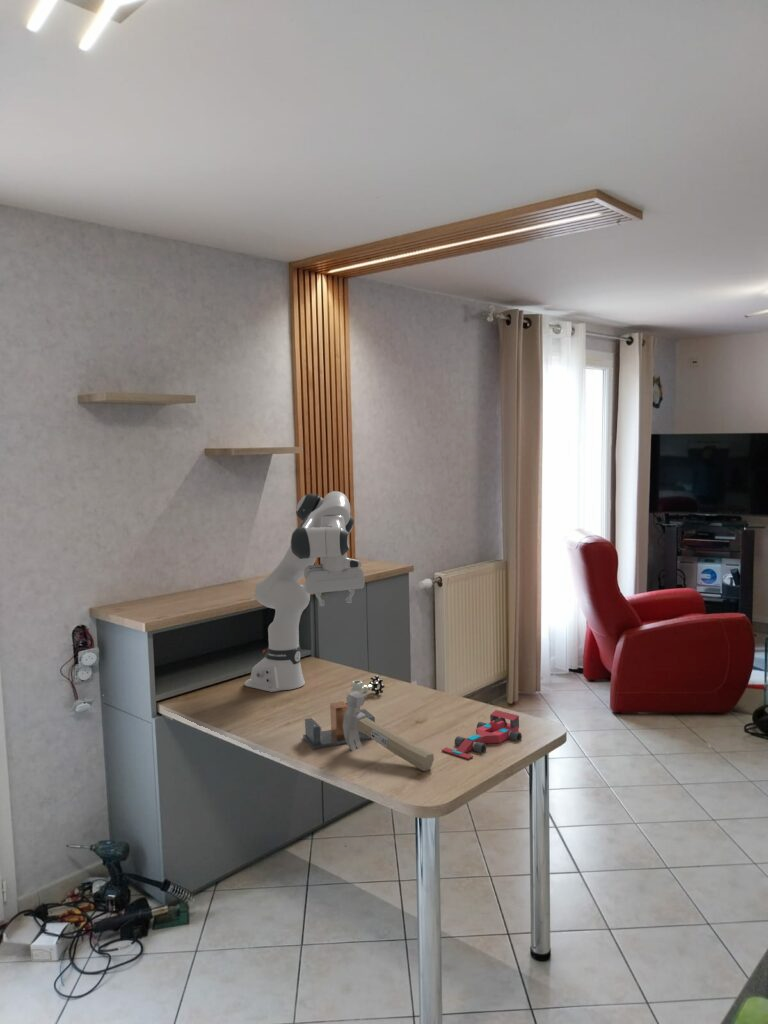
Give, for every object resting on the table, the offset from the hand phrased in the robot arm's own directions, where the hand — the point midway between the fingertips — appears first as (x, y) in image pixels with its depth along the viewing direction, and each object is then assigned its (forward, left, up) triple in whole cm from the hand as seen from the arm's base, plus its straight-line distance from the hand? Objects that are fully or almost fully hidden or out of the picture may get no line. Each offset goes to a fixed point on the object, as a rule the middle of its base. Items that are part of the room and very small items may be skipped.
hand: (335, 604), depth 255 cm
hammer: (+36, -35, -34) cm, 61 cm away
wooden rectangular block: (+16, -27, -33) cm, 45 cm away
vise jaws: (+16, -27, -34) cm, 46 cm away
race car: (+56, -14, -35) cm, 67 cm away
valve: (+5, +10, -34) cm, 36 cm away
